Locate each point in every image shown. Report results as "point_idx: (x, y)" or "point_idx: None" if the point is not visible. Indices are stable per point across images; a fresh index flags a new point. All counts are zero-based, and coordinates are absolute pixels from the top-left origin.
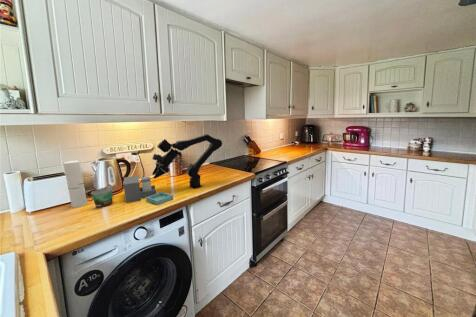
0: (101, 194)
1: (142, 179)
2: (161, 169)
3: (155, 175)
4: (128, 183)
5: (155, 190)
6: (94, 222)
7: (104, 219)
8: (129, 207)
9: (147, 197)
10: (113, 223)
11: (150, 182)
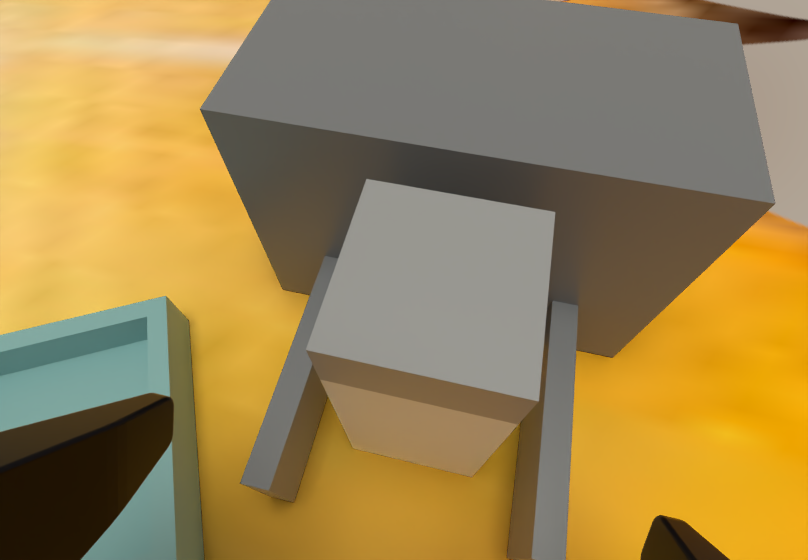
0: None
1: (360, 196)
2: None
3: (44, 434)
4: (286, 7)
5: (249, 470)
6: (143, 5)
7: (131, 38)
8: (189, 171)
9: (147, 309)
10: (10, 61)
11: (324, 381)
